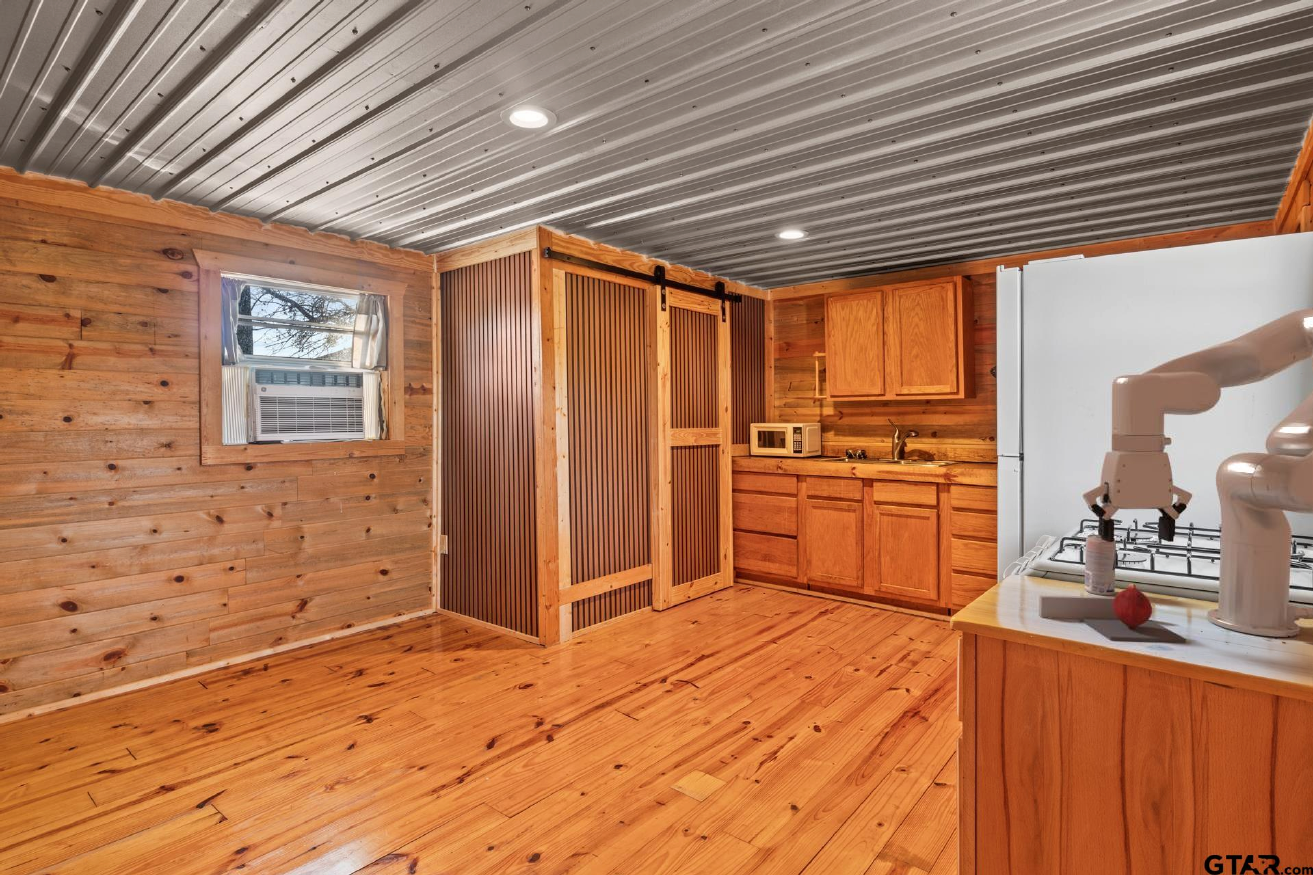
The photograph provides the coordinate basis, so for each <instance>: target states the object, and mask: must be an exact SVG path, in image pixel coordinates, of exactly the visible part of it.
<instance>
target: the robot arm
mask: <svg viewBox="0 0 1313 875" xmlns="http://www.w3.org/2000/svg"><path fill="white" fill-rule="evenodd" d="M1308 359H1311V362H1310V364H1311V368H1312V371H1313V308H1306V309H1300V310H1296V311H1292V312H1289V313H1288V314H1285V315H1282V316H1280V317H1278V318H1276V319H1274V320H1272V321H1270V322H1268V323H1266V324H1264V325H1261V326H1260V327H1258V328H1255V329H1253V330H1251V331H1249V332H1246V333H1245V334H1243V335H1240V336H1239V337H1236V338H1233V339H1231V340H1229V341H1226V342H1223V343H1218V344H1215V345H1213V346H1210V347H1207V348H1204V349H1202V350H1199V351H1195V352H1192V353H1189V354H1186V355H1183V356H1180V357H1177V358H1174V359H1172V360H1168V361H1166V362H1163V363H1162V364H1159V365H1158V366H1156V367H1154V368H1151V369H1149V370H1148V371H1145V372H1143V373H1142V374H1127V375H1120V376H1117V377H1116V378H1114V379H1113V382H1112V384H1111V385H1112V386H1111V451H1106V453H1105V455H1104V459H1103V464H1102V469H1101V475H1100V484H1099V486H1097V487H1095V488H1093V489H1091V490H1089V491H1087V492H1084V493H1083V495H1082V498H1083V500H1084V502H1085V503H1086V505H1087V507H1088V509H1089V510H1090V511H1091V512H1092V513H1093V514H1094V515H1095V516H1096V517H1097V518H1098V535H1100V536H1101V539H1102V540H1105V541H1107V542H1113V541H1114V538H1115V520H1114V519H1112V517H1113V516H1114V515H1115V514H1116V513H1117V512H1118V511H1119V510H1157V511H1159V512H1158V513H1160V514H1161V516H1159V517H1158V535H1157V536H1158V538H1159V540H1163V541H1166V542H1168V543H1173V542H1174V541H1175V540H1174V539H1175V538H1174V536H1176V520H1178V519H1179V518H1180V515H1181V514H1182V513H1183V512H1184V511H1185V510H1186V509H1187V505H1188V504H1189V503H1190V501H1191V500H1192V498H1193V493H1191V492H1189V491H1187V490H1185V489H1183V488H1180V487H1178V486H1177V485H1174V481H1173V470H1172V466H1171V462H1170V458H1169V454H1168V452H1165V450H1166V446H1171V444H1172V438H1171V437H1166V435H1165V415H1176V416H1177V415H1178V416H1192V415H1200V414H1203V413H1206V412H1208V411H1210V410H1212V409H1213V408H1214V407H1215V406H1216V405H1217V404H1218V403H1219V401H1220V399H1221V396H1222V390H1221V389H1226V388H1233V387H1234V388H1235V387H1239V386H1245V385H1249V384H1254V383H1258V382H1263V381H1264V380H1266V379H1270V377H1273V376H1274V375H1277V374H1280V373H1281V372H1284V371H1285V370H1287V369H1289V368H1291V367H1293V366H1295V365H1297V364H1300V363H1302V362H1304V361H1306V360H1308ZM1265 449H1266V451H1267V453H1265V452H1243V453H1242V452H1241V453H1236V454H1233V455H1232V456H1228V457H1227V458H1225V459H1224V460H1223V461H1221V463H1220V465H1219V466H1218V467H1217V469H1216V470H1217V471H1216V473H1215V485H1216V491H1217V494H1218V495H1217V496H1218V499H1219V505H1220V516H1221V517H1220V518H1221V524H1220V526H1221V529H1220V550H1219V551H1220V555H1219V557H1220V560H1219V580H1218V581H1219V582H1218V603H1217V604H1218V608H1216V609H1210V610H1209V611H1207V615H1206V618H1207V620H1208V621H1209V622H1211V623H1212V624H1215V625H1216V626H1219V627H1222V628H1225V629H1228V630H1231V631H1235V632H1239V633H1243V634H1250V635H1256V636H1263V637H1264V636H1266V637H1275V638H1276V637H1278V638H1287V637H1288V636H1290V637H1295V636H1297V635H1299V634H1300V630H1301V629H1300V626H1299V624H1297V623H1296V621H1299V620H1300V619H1304V620H1313V608H1310V607H1304V608H1303V607H1301V608H1299V607H1298V606H1297V605H1293V604H1290V602H1289V601H1290V580H1291V579H1290V578H1291V561H1292V560H1291V558H1292V540H1293V539H1292V538H1293V536H1292V530H1291V525H1290V522H1289V520H1288V519H1287V518H1288V517H1287V516H1286V514H1285V513H1284V511H1285V512H1290V513H1291V512H1292V513H1293V512H1294V513H1297V514H1299V513H1300V514H1308V515H1311V514H1312V515H1313V390H1312V391H1311V393H1310V394H1309V395H1308V396H1307V398H1306V399H1305V400H1303V402H1301V403H1300V405H1298V406H1297V407H1296V408H1295V409H1293V410H1292V411H1291V412H1290V413H1289V414H1288V415H1287V416H1286V417H1284V418H1283V419H1282V420H1281V421H1280V422H1279V423H1278V424H1277V425H1276V426H1274V428H1272V429H1271V431H1270V432H1269V434H1268V435H1267V436H1266V439H1265ZM1174 495H1175V496H1177V499H1176V501H1175V502H1174ZM1097 498H1099V501H1100V503H1101V504H1102V505H1101V506H1100V505H1099V504H1098V501H1097ZM1173 502H1174V503H1173ZM1296 634H1297V635H1296ZM1294 635H1295V636H1294Z"/></svg>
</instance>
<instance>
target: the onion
mask: <svg viewBox="0 0 1313 875" xmlns="http://www.w3.org/2000/svg"><path fill="white" fill-rule="evenodd" d="M1112 606H1113V612H1114V613H1115V615H1116V617H1117V618H1118V619H1119V620H1120V621H1121V622H1123V623H1124V624H1125V625H1126V626H1127V627H1129V628H1135V627H1137V626H1139V625H1141V624H1143V623H1145V622H1146V621H1148V619H1149V620H1150V619H1151V617H1152V615H1153V608H1152V607H1153V606H1152V603H1151V601H1150V599H1149V598H1148V597H1147V596H1146V594H1144V593H1143V592H1141V591H1140V590H1139V589H1138V588H1137V585H1136V584H1134V583H1129V585H1128V587H1127V588H1126V589H1123V590H1121V591H1119V592H1118V593H1117V594H1115V598H1114V600H1113V605H1112Z"/></svg>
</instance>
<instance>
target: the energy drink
mask: <svg viewBox="0 0 1313 875" xmlns="http://www.w3.org/2000/svg"><path fill="white" fill-rule="evenodd" d="M1086 536H1087V537H1086V540H1085V562H1084V563H1085V564H1084V566H1085V567H1084V568H1085V569H1084V572H1085V573H1084V590H1085V591H1086V592H1087V593H1089V594H1091V595H1096V596H1112V595H1113V596H1114V594H1115V588H1116V558H1117V557H1116V555H1117V549H1116V548H1117V541H1116V537H1114V541H1113V542H1107V541H1105V540H1102V539H1101V536H1100V535H1099V534H1088V535H1086Z"/></svg>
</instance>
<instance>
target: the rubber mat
mask: <svg viewBox="0 0 1313 875" xmlns="http://www.w3.org/2000/svg"><path fill="white" fill-rule="evenodd" d="M1081 622H1082V623H1083V624H1085V623H1086V624H1085V625H1086V626H1088V627H1090V628H1091V629H1093V630H1094V631H1096V632H1097V633H1098V634H1100V635H1102V636H1104V638H1106V639H1108V640H1109V641H1123V642H1124V641H1125V642H1155V643H1157V642H1158V643H1163V642H1164V643H1184V644H1186V643H1187V638H1185V637H1184V636H1181V635H1179V634H1177V632H1173V631H1172V630H1170V629H1169V628H1167V627H1164V626H1163V625H1161V624H1159V623H1157V622H1156V621H1153V620H1152V619H1149V620H1148V621H1146V622H1145V623H1143V624H1141V625H1139V626H1137V627H1135V628H1129V627H1127V626H1126V625H1125V624H1124V623H1123V622H1121V621H1120V620H1119V619H1100V618H1082V619H1081Z"/></svg>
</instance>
